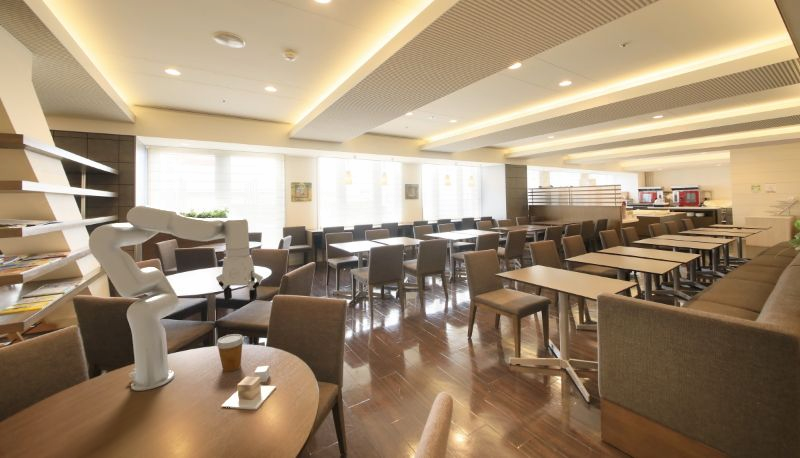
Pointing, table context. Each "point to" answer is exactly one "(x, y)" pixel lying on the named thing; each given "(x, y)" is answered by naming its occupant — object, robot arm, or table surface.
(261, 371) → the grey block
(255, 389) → the oak cube
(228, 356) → the disposable coffee cup
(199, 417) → the table surface
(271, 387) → the tray
